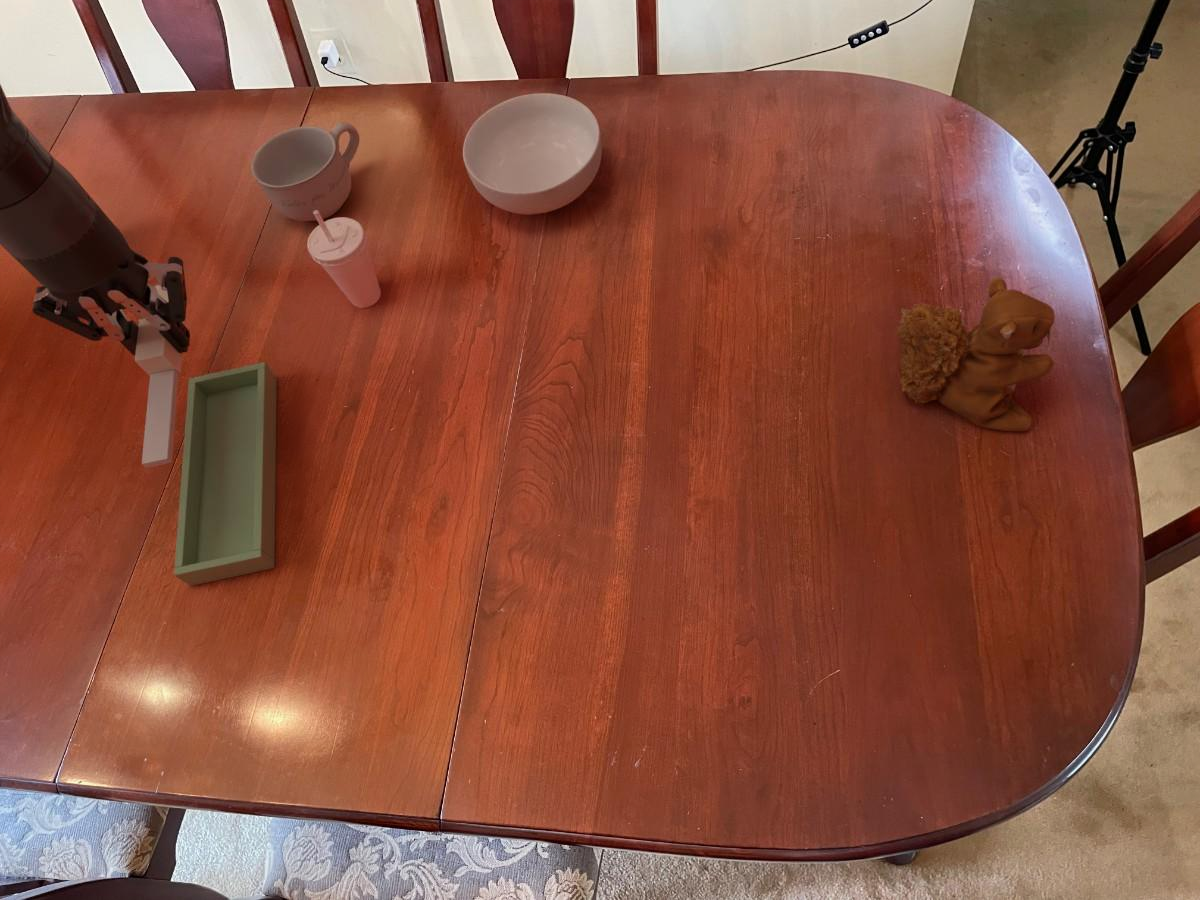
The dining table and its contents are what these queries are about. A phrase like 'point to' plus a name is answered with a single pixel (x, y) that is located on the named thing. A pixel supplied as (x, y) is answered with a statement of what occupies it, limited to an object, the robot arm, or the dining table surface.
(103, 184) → the dining table surface
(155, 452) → the grey block with handle
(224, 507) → the tray
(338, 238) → the smoothie
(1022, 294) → the stuffed squirrel
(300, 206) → the teacup
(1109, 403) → the dining table surface
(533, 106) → the cereal bowl
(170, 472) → the dining table surface
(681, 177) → the dining table surface
